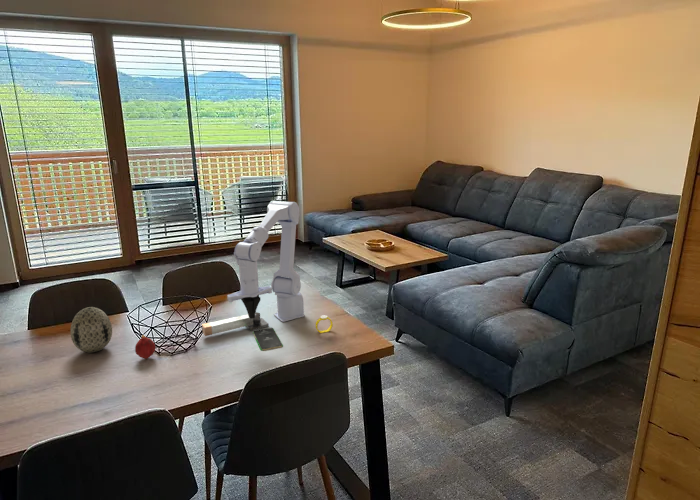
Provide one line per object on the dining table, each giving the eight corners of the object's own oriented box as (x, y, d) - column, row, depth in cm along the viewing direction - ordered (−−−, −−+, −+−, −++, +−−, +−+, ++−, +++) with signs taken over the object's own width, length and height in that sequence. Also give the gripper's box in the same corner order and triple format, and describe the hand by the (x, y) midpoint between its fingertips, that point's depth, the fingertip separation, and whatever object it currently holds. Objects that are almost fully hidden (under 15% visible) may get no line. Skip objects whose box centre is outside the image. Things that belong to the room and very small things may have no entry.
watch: (317, 335, 163) (316, 320, 161) (315, 332, 166) (313, 317, 164) (334, 331, 165) (332, 316, 164) (331, 328, 168) (329, 313, 166)
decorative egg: (96, 339, 160) (89, 299, 156) (123, 345, 157) (116, 303, 152) (65, 356, 150) (57, 312, 145) (94, 362, 146) (86, 317, 142)
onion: (160, 355, 150) (157, 332, 147) (147, 364, 144) (144, 341, 142) (145, 352, 151) (142, 330, 149) (132, 361, 146) (129, 338, 144)
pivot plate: (262, 320, 175) (261, 318, 174) (268, 326, 170) (268, 323, 170) (244, 325, 171) (243, 322, 171) (250, 331, 166) (250, 328, 166)
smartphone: (260, 349, 152) (251, 330, 165) (260, 352, 152) (252, 333, 166) (283, 345, 155) (272, 326, 168) (283, 347, 155) (273, 329, 168)
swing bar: (261, 322, 169) (261, 314, 169) (205, 336, 159) (204, 327, 159) (258, 319, 172) (258, 311, 171) (202, 332, 162) (201, 324, 161)
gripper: (231, 286, 144) (234, 327, 148) (274, 277, 152) (277, 316, 156) (223, 280, 150) (227, 319, 154) (266, 271, 157) (268, 309, 161)
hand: (251, 317), depth 155 cm, fingers closed
